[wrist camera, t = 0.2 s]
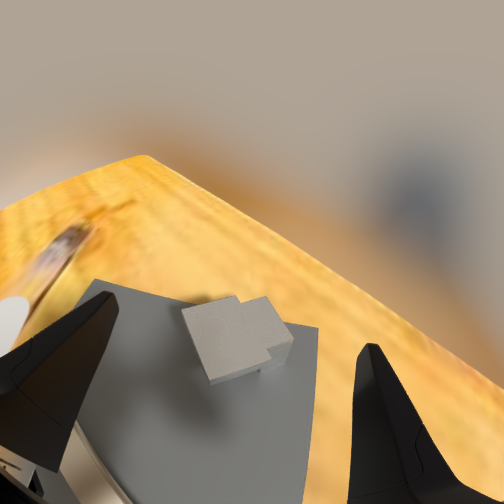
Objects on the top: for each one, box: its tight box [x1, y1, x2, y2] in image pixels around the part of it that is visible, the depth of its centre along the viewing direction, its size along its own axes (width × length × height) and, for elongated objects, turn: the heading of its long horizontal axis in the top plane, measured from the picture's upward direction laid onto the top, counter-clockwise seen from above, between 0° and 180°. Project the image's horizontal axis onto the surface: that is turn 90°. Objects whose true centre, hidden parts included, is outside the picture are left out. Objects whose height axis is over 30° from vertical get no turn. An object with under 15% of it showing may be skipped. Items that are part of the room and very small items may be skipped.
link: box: [59, 420, 133, 504], centre depth 13 cm, size 20×4×4 cm, turn 45°
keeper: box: [181, 295, 294, 386], centre depth 24 cm, size 8×7×5 cm
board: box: [35, 279, 318, 504], centre depth 19 cm, size 28×26×1 cm
